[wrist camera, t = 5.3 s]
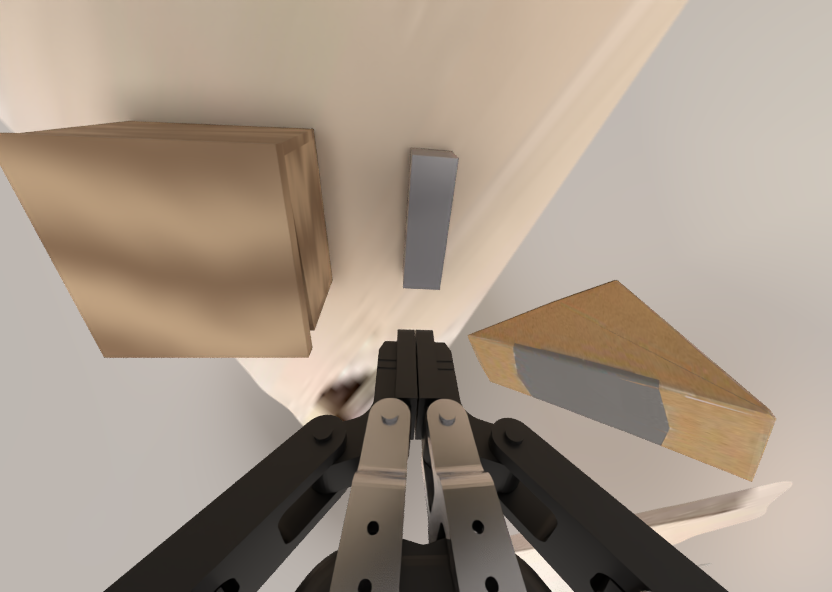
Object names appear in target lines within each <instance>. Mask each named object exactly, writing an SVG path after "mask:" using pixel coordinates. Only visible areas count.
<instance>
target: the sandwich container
mask: <svg viewBox="0 0 832 592" xmlns="http://www.w3.org/2000/svg"><path fill="white" fill-rule="evenodd" d="M468 338H469V341H470V343H471V345H472V348H473V350H474V352H475V355H476V357H477V359H478V361H479V363H480V365H481V366H482V368H483V370H484V372H485V373H486V375H487V377H488V378H489V380H490V381H491V382H493V383H496V384H499V385H502V386H504V387H507V388H510V389H513V390H515V391H518V392H521V393H523V394H527V395H529V396H532V397H534V398H537V399H540V400H542V401H546V402H548V403H550V404H553V405H556V406H559V407H561V408H564V409H567V410H569V411H572V412H574V413H577V414H580V415H582V416H585V417H587V418H590V419H592V420H595V421H598V422H600V423H603V424H606V425H608V426H611V427H614V428H617V429H619V430H622V431H625V432H627V433H630V434H633V435H635V436H637V437H640V438H642V439H645V440H648V441H650V442H653V443H655V444H658V445H661V446H663V447H665V448H668V449H670V450H673V451H675V452H678V453H681V454H683V455H686V456H688V457H691V458H693V459H696V460H698V461H701V462H703V463H706V464H709V465H711V466H713V467H716V468H718V469H721V470H724V471H726V472H729V473H731V474H733V475H736V476H739V477H741V478H743V479H746V480H749V481H751V482H752V480H753V478H754V475H755V473H756V470H757V468H758V465H759V463H760V460H761V458H762V455H763V452H764V450H765V447H766V444H767V442H768V439H769V436H770V434H771V431H772V428H773V426H774V423H775V421H776V418H775V416H774V415H773V413H772V412H771V411H770V409H768V408H767V407H766V406H765V405H764V404H763V403H761V402H760V401H759V400H758V399H757V398H755V397H754V396H753V395H752V394H751V393H750V392H748V391H747V390H746V389H745V388H744V387H743V386H741V385H740V384H739V383H738V382H737V381H736V380H734V379H733V378H732V377H731V376H730V375H728V374H727V373H726V372H725V371H724V370H723V369H721V368H720V367H719V366H718V365H716V364H715V363H714V362H713V361H712V360H711V359H710V358H708V357H707V356H706V355H705V354H704V353H703V352H701V351H700V350H699V349H698V348H697V347H696V346H694V345H693V344H692V343H691V342H690V341H688V340H687V339H686V338H685V337H684V336H683V335H681V334H680V333H679V332H678V331H677V330H675V329H674V328H673V327H672V326H671V325H669V324H668V323H667V322H666V321H665V320H664V319H663V318H661V317H660V316H659V315H658V314H657V313H655V312H654V311H653V310H652V309H650V307H648V306H647V305H646V304H645V303H644V302H643V301H641V300H640V299H639V298H638V297H637V296H635V295H634V294H633V293H632V292H631V291H629V290H628V289H627V288H626V287H625V286H624V285H622V284H621V283H620V282H619V281H618V280H613V281H610V282H607V283H604V284H601V285H599V286H596V287H593V288H590V289H587V290H584V291H581V292H578V293H576V294H573V295H570V296H567V297H564V298H561V299H559V300H556V301H553V302H550V303H548V304H545V305H543V306H540V307H537V308H535V309H532V310H530V311H527V312H525V313H522V314H520V315H517V316H515V317H513V318H510V319H507V320H505V321H502V322H499V323H497V324H495V325H492V326H489V327H487V328H484V329H482V330H479V331H476V332H474V333H472V334H469V335H468Z"/></svg>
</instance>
